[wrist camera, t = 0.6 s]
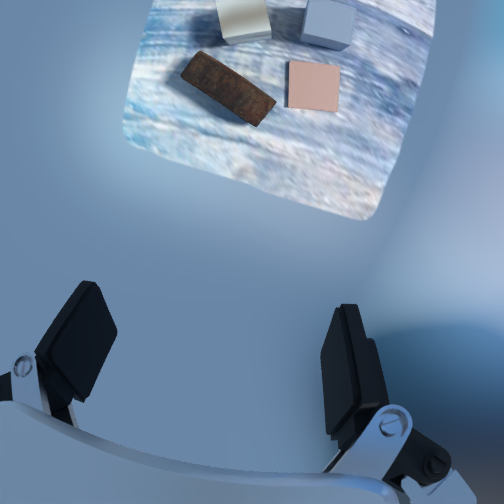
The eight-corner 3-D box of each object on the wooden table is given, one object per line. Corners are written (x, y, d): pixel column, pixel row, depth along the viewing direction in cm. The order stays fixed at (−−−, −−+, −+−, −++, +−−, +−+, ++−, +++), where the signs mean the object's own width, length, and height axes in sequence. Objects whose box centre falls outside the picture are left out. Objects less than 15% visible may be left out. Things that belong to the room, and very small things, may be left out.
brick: (189, 78, 28) (177, 77, 25) (208, 54, 27) (198, 49, 23) (257, 125, 32) (254, 129, 28) (277, 101, 30) (278, 102, 26)
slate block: (305, 8, 22) (309, -4, 18) (345, 18, 22) (356, 8, 18) (299, 41, 25) (303, 33, 21) (340, 51, 25) (350, 45, 21)
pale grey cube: (223, 12, 23) (215, 1, 19) (264, 5, 23) (262, -8, 18) (230, 45, 26) (222, 38, 22) (271, 39, 25) (271, 30, 21)
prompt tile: (289, 61, 26) (289, 61, 26) (338, 66, 26) (339, 66, 26) (288, 107, 30) (288, 107, 29) (336, 111, 29) (337, 112, 29)
